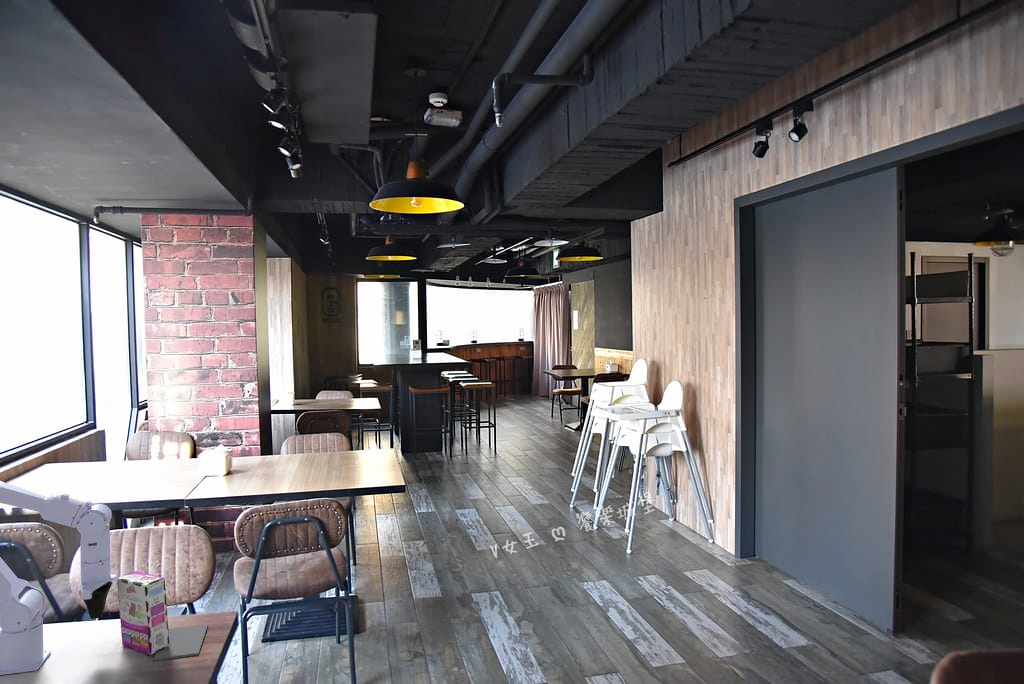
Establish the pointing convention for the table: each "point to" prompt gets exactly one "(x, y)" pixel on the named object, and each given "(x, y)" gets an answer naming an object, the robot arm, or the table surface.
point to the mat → (183, 642)
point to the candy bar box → (143, 612)
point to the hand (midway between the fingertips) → (96, 617)
